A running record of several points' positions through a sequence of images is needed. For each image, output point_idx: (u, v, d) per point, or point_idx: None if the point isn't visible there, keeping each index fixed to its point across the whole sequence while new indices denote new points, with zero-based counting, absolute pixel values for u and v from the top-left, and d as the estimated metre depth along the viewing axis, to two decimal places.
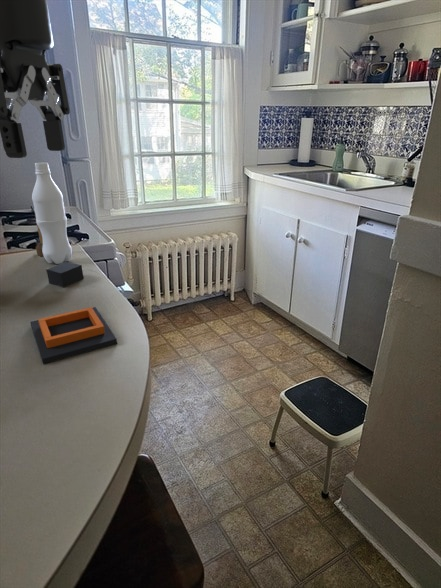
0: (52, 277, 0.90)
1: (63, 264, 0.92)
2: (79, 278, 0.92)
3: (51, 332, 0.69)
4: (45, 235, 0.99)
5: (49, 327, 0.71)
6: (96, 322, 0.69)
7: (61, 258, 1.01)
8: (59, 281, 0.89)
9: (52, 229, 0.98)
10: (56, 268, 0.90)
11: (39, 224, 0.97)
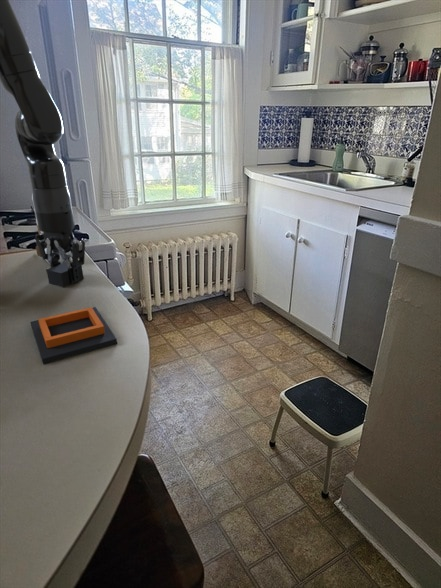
0: (52, 277, 0.90)
1: (63, 264, 0.92)
2: (79, 278, 0.92)
3: (51, 332, 0.69)
4: None
5: (49, 327, 0.71)
6: (96, 322, 0.69)
7: (61, 258, 1.01)
8: (59, 281, 0.89)
9: None
10: (56, 268, 0.90)
11: None
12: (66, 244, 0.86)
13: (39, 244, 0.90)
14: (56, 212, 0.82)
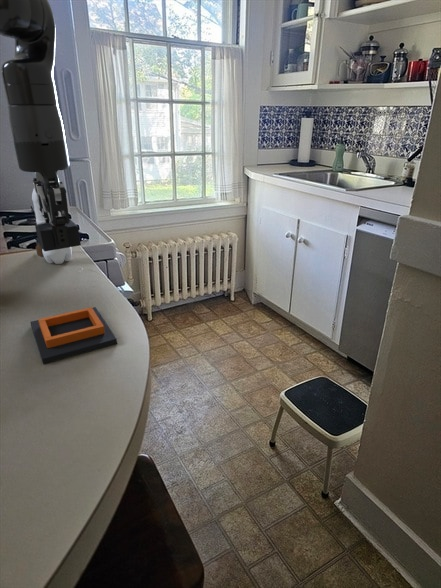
0: (38, 236, 0.67)
1: None
2: (73, 243, 0.67)
3: (51, 332, 0.69)
4: None
5: (49, 327, 0.71)
6: (96, 322, 0.69)
7: (61, 258, 1.01)
8: (41, 242, 0.65)
9: None
10: (47, 225, 0.67)
11: None
12: (46, 191, 0.61)
13: None
14: (30, 141, 0.58)
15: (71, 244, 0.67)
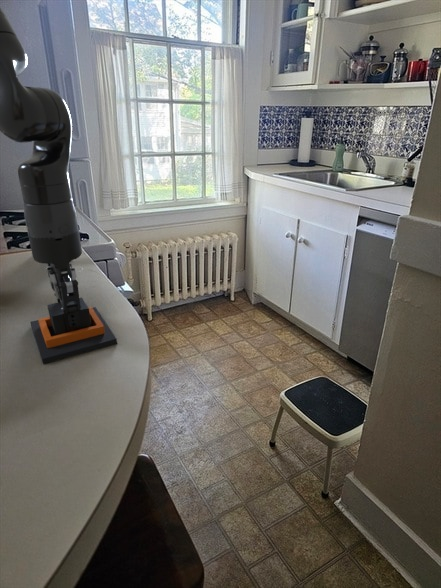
0: (50, 317, 0.68)
1: (72, 301, 0.70)
2: (83, 324, 0.68)
3: (51, 332, 0.69)
4: None
5: (49, 327, 0.71)
6: (96, 322, 0.69)
7: None
8: (53, 325, 0.66)
9: None
10: (59, 306, 0.68)
11: None
12: (58, 281, 0.62)
13: None
14: (44, 237, 0.59)
15: (82, 325, 0.68)
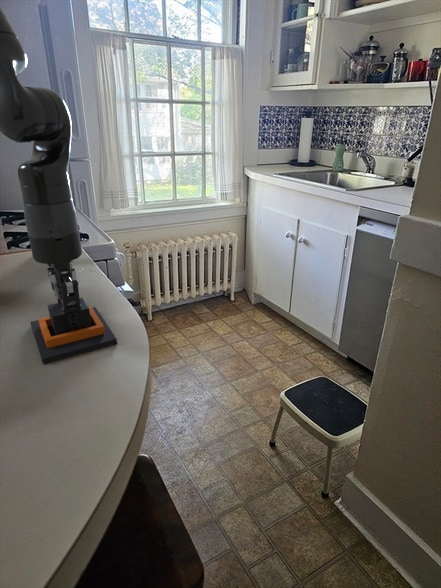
0: (50, 317, 0.68)
1: None
2: (84, 324, 0.68)
3: (51, 332, 0.69)
4: None
5: (49, 327, 0.71)
6: (96, 322, 0.69)
7: None
8: (53, 325, 0.66)
9: None
10: (59, 306, 0.68)
11: None
12: (58, 281, 0.62)
13: None
14: (44, 237, 0.59)
15: (82, 325, 0.68)
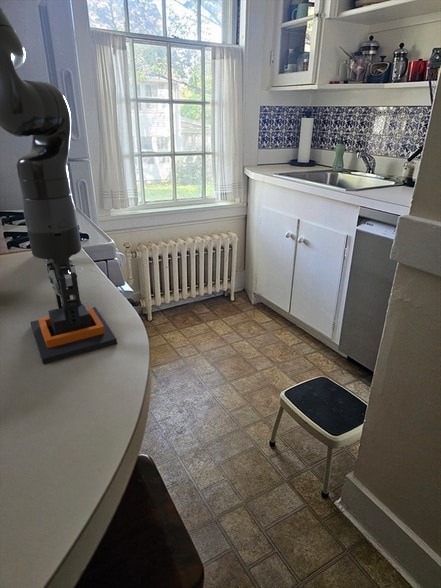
0: (51, 323, 0.68)
1: None
2: None
3: (51, 332, 0.69)
4: None
5: (49, 327, 0.71)
6: (96, 322, 0.69)
7: None
8: (54, 331, 0.67)
9: None
10: (60, 311, 0.69)
11: None
12: (58, 276, 0.62)
13: None
14: (43, 232, 0.58)
15: None
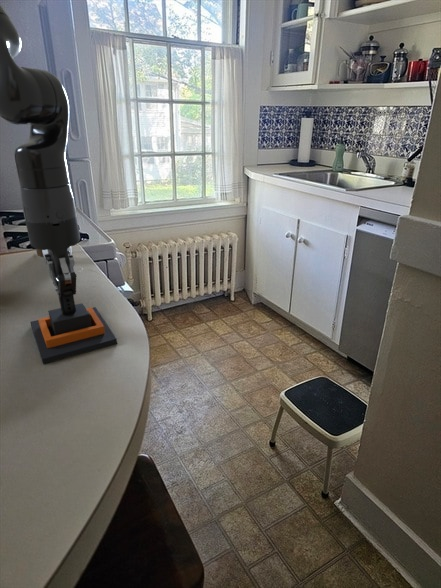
0: (51, 323, 0.68)
1: None
2: None
3: (51, 332, 0.69)
4: None
5: (49, 327, 0.71)
6: (96, 322, 0.69)
7: None
8: (54, 331, 0.67)
9: None
10: (60, 311, 0.69)
11: None
12: (56, 268, 0.61)
13: None
14: (41, 222, 0.58)
15: None
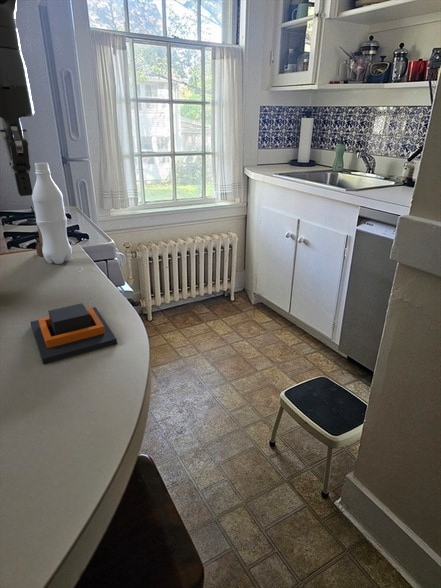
0: (51, 323, 0.68)
1: (73, 307, 0.70)
2: None
3: (51, 332, 0.69)
4: (45, 235, 0.99)
5: (49, 327, 0.71)
6: (96, 322, 0.69)
7: (61, 258, 1.01)
8: (54, 331, 0.67)
9: (52, 229, 0.98)
10: (60, 311, 0.69)
11: (39, 224, 0.97)
12: (8, 136, 0.62)
13: None
14: None
15: None
